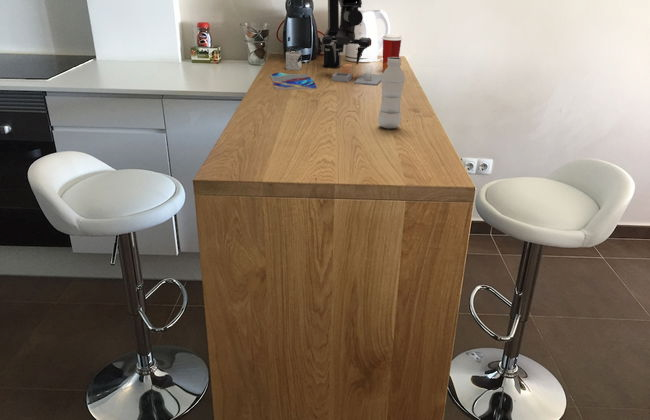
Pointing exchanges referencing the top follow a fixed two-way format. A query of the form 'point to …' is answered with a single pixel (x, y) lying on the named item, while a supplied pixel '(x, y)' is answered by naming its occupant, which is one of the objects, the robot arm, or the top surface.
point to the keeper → (369, 78)
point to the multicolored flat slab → (292, 81)
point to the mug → (293, 60)
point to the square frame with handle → (343, 74)
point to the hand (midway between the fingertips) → (345, 63)
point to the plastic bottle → (391, 94)
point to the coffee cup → (390, 47)
